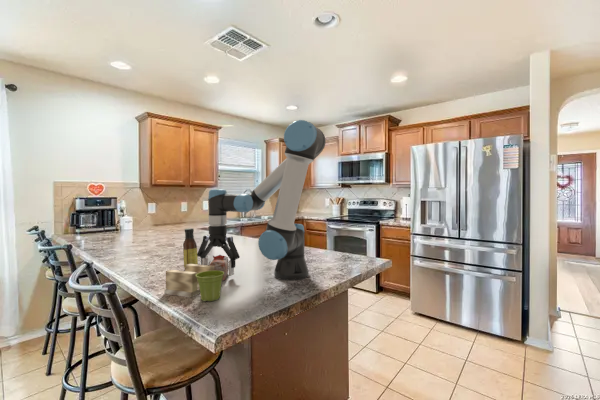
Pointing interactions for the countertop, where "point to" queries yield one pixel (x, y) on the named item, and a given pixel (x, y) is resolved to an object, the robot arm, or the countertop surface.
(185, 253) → the sauce bottle
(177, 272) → the stand
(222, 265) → the food item
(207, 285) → the plant pot
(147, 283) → the countertop surface
